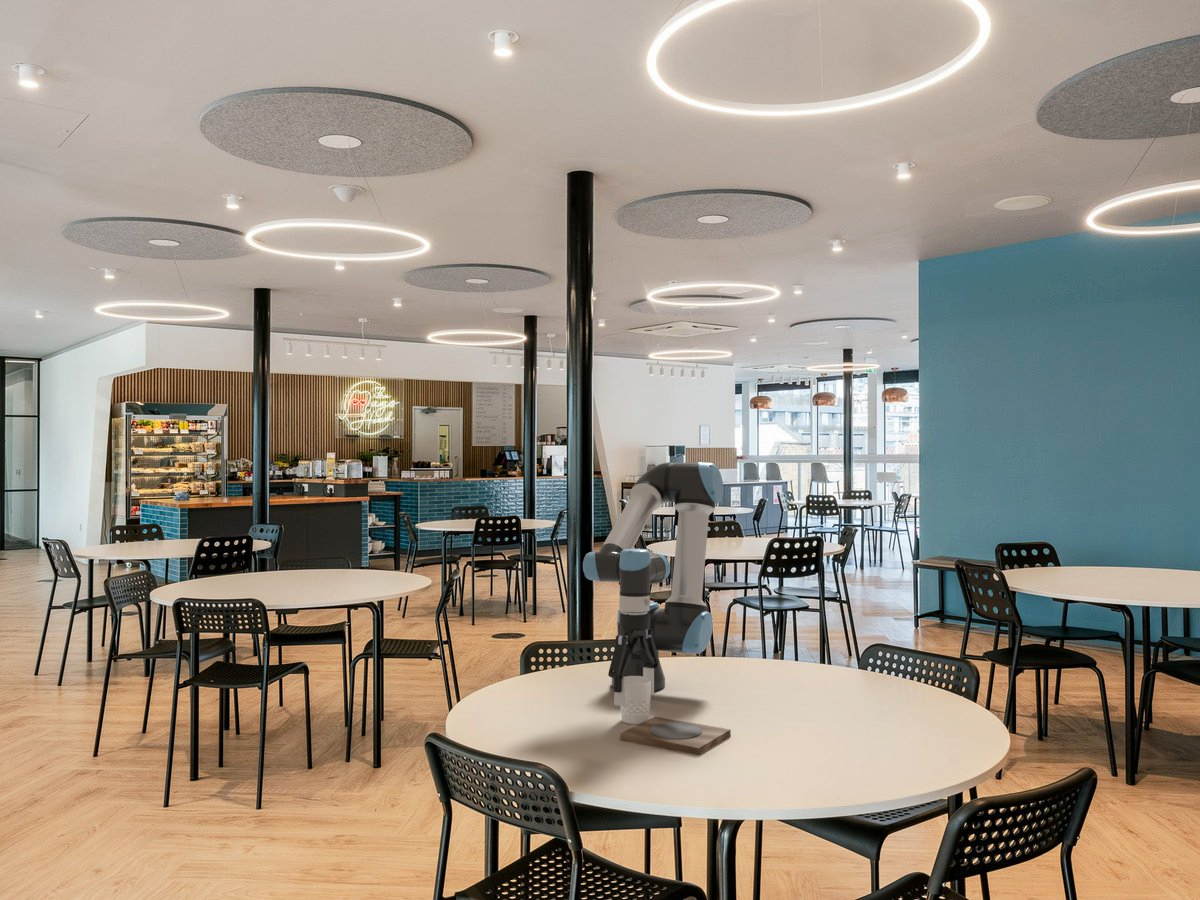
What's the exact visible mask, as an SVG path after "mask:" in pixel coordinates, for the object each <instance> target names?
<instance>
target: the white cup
mask: <svg viewBox="0 0 1200 900" xmlns="http://www.w3.org/2000/svg"><path fill="white" fill-rule="evenodd" d="M623 678H626V706H624V707H623V706H620V712H621V714H620V715H621V722H623V723H625V724H629V725H638V724H640V723H643V722H645V721H647V720H649V719H650V710H651V698H652V695H651V679H650V678H648V677H643V676H627V677H623Z"/></svg>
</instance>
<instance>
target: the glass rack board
mask: <svg viewBox="0 0 1200 900" xmlns="http://www.w3.org/2000/svg"><path fill="white" fill-rule="evenodd" d="M731 734H732V733H731V728H730V729H729V728H723V727H718V726H714V725H713V726H711V725H707V724H699V723H695V722H688V721H684V720H677V719H674V718H673V719H672V718H665V717H662V716H661V717H660V716H653V717H651V718H649V720H647V721H645V722H643V723H640V724H635V725H634V726H632V727H631V728H628V729H626V730H624V731H622V732H620V739H619V740H620V741H624V742H625V741H626V742H629V743H634V744H639V745H646V746H651V747H654V748H655V747H656V748H661V749H666V750H672V751H675V752H676V751H677V752H680V753H686V754H692V755H697V756H699V755H701V754H703V753H705V752H707V751H708V750H710V749H711V748H714V747H715V746H716V745H718V744H719V743H721V742H723V741H725V740H726V739H729V738H730V737H731Z"/></svg>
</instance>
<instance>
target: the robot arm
mask: <svg viewBox="0 0 1200 900" xmlns="http://www.w3.org/2000/svg"><path fill="white" fill-rule="evenodd" d="M629 495H630V499H629V500H628V502H626V505H625V507H624V508H623V509H622V512H621V514H620V515H619V517H618V519H617V520H616V522H615V524H614V525H613V527H612V529H611V530H610V532H609V534H608V536H607V537H606V539H605V540H604V542H603V544H602V545H601V547H600V549H599V550H598V551H597V550H595V551H590V552H588V553H586V554H585V556H584V558H583V562H582V570H583V573H584V577H585V578H586V579H587V580H590V581H594V582H596V581H597V582H610V583H614V582H615V583H619V603H618V604H619V606H618V607H619V609H618V610H617V621H616V624H617V627H616V628H617V635H615V645H614V649H613V654H612V658H611V660H610V661H611V662H610V666H609V669H608V673H607V674H608V675H607V676H608V677H610V678H611V686H612V688H613V694H614V695H613V698H614V699H613V701H614V702H613V704H614V706H618V707H621V706H623V707H624V706H626V678H623V677H627V676H643V677H648V678H650V679H651V696H654V695H655V691H659V690H662V689H663V688H665V686H666V676H665V674H664V671H663V667H662V663H661V661H660V656H659V653H660V652H667V653H668V652H670V653H677V654H679V653H681V654H685V655H689V654H695V655H698V654H702V652H704V651H705V650H706V649H707V647H708V645H709V643H710V640H711V639H712V638H711V637H712V635H713V626H714V623H713V620H714V619H713V615H712V613H711V612H709V611H707V608H708V606H707V604H706V603H705V601H703V591H704V590H703V589H704V578H705V568H706V567H705V565H706V552H707V543H708V542H707V541H708V532H709V531H708V528H709V520H710V515H711V514H712V513H713V512H715V510H716V508H715V507H716V504H719V503H721V502H722V501H723V497H724V483H723V478H722V473H721V471H720V469H719V467H718V466H717V465H716V464H715V463H712V462H703V461H698V462H697V461H695V462H691V461H690V462H689V461H688V462H685V461H684V462H672V461H668V462H664V463H663V462H662V463H660V464H658V465H655V466H653V467H652V468H650V469H649V470H647V471H645V473H644V474H642V475H641V476H640V477H639V478H638V479H637V480H636V482H635V483H634V484H633V486H632V488H631V489H630V494H629ZM665 503H674V505H673V507H674V509H675V510H676V511H677V512H678V519H677V530H676V541H675V551H674V553H675V554H674V562H673V572H672V573H673V574H672V584H671V585H672V586H671V594H670V597H669V598H668V599H667V600H665V602H664V608H660V605H659V603H658V602H657V601H656V602H655V601H651V585H654V584H656V585H657V584H660V583H661V582H663V581H665V580H667V578H668V577H669V575H670V572H671V564H670V560H669V559H668V558H667V557H666V556H665V555H663V554H661V553H654V552H653V553H650V550H648V549H646V548H634V547H635V545H636V544H637V541H638V540H639V537H640V536H641V534H642V532H643V531H644V528H645V527H646V525H647V523H648V522H649V520H650V518H651V517H652V515H653V513H654V511H656V510H658V509H659V508H660V507H661V505H662V504H665Z"/></svg>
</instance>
